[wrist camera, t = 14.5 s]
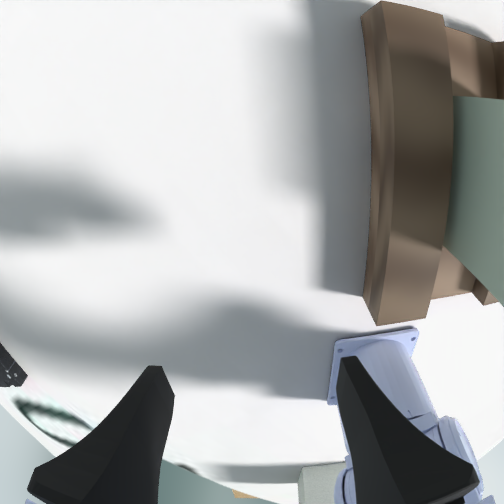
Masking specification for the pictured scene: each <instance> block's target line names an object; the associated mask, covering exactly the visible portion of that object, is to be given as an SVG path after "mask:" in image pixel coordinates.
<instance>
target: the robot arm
mask: <svg viewBox="0 0 504 504" xmlns="http://www.w3.org/2000/svg"><path fill="white" fill-rule="evenodd" d="M418 335H419V331H418V329H417V328H413V329H407V330H402V331H396V332H390V333H384V334H377V335H371V336H364V337H356V338H349V339H341V340H338V341H336V342H335V345H334V354H333V362H332V370H331V377H330V384H329V391H328V398H327V404H328V405H337V406H338V411H339V416H340V421H341V426H342V431H343V436H344V441H345V446H346V449H347V452H348V453H349V455H347V456H346V457H345V461H346V468H344V469H343V470H342V471H340V473H339V474H338V477H337V479H336V483H335V487H334V502H335V504H495V501H494V498H493V496H492V495H490V496H488V497H487V498H485V499H483V500H482V493H483V489H484V488H483V481H482V477H481V474H480V472H479V468H478V464H477V461H476V458H475V455H474V452H473V450H472V447H471V445H470V443H469V440H468V438H467V436H466V434H465V432H464V430H463V429H462V427H461V425H460V424H459V422H458V421H457V419H456V418H452V417H448V416H444V417H442V418H441V419H439V418H438V416H437V414H436V411H435V409H434V407H433V404H432V402H431V400H430V397H429V395H428V393H427V391H426V388H425V386H424V384H423V382H422V380H421V378H420V375H419V373H418V371H417V369H416V367H415V365H414V363H413V361H412V359H411V356H412V354H413V351H414V348H415V345H416V342H417V339H418ZM412 337H413V338H412ZM339 349H340V350H339ZM174 397H175V395H174V393H173V391H172V388H171V386H170V384H169V382H168V380H167V377H166V375H165V373H164V371H163V368H162V366H148V367H147V368H146V369H145V370H144V371H143V373H142V374H141V375H140V377H139V378H138V379H137V381H136V382H135V383H134V384H133V386H132V387H131V388H130V390H129V391H128V392H127V393H126V395H125V396H124V397H123V398H122V400H121V401H120V402H119V403H118V404H117V406H116V407H115V408H114V409H113V410H112V411H111V412H110V413H109V414H108V416H107V417H106V418H105V419H104V420H103V421H102V422H101V423H100V424H99V425H98V426H97V427H96V428H95V429H94V430H93V431H91V432H90V433H89V434H88V435H87V436H86V437H84V438H83V439H82V440H81V441H79V442H78V443H77V444H76V445H74V446H73V447H72V448H70V449H69V450H67V451H66V452H64V453H62V454H61V455H59V456H58V457H56V458H54V459H52V460H50V461H49V462H47V463H45V464H42V465H40V466H38V467H36V468H35V469H34V472H33V474H32V477H31V480H30V482H29V485H28V488H27V490H28V492H29V493H31V494H32V495H33V496H35V497H37V498H38V499H40V500H41V501H43V502H45V503H46V504H158V486H159V485H158V484H159V475H160V466H161V461H162V456H163V452H164V448H165V444H166V440H167V436H168V432H169V428H170V424H171V420H172V414H173V407H174ZM25 504H36V503H34V502H32V501H30V500H29V499H27V500H26V502H25Z"/></svg>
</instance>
